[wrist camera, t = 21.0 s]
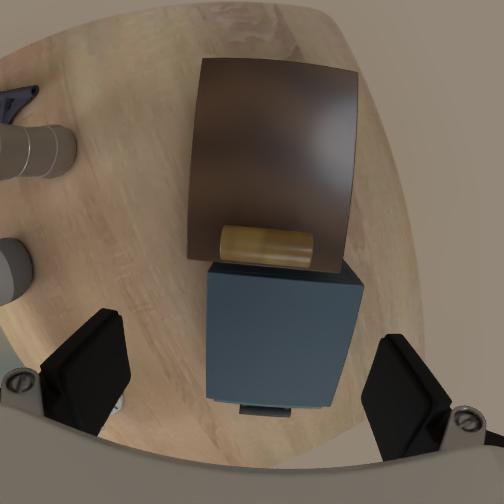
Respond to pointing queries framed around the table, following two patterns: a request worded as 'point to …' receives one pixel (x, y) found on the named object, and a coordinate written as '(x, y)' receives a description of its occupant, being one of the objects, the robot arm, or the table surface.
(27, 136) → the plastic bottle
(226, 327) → the cabinet
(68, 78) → the table surface
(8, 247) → the smart speaker
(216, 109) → the lid
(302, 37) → the table surface
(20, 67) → the table surface
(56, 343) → the table surface
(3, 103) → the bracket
